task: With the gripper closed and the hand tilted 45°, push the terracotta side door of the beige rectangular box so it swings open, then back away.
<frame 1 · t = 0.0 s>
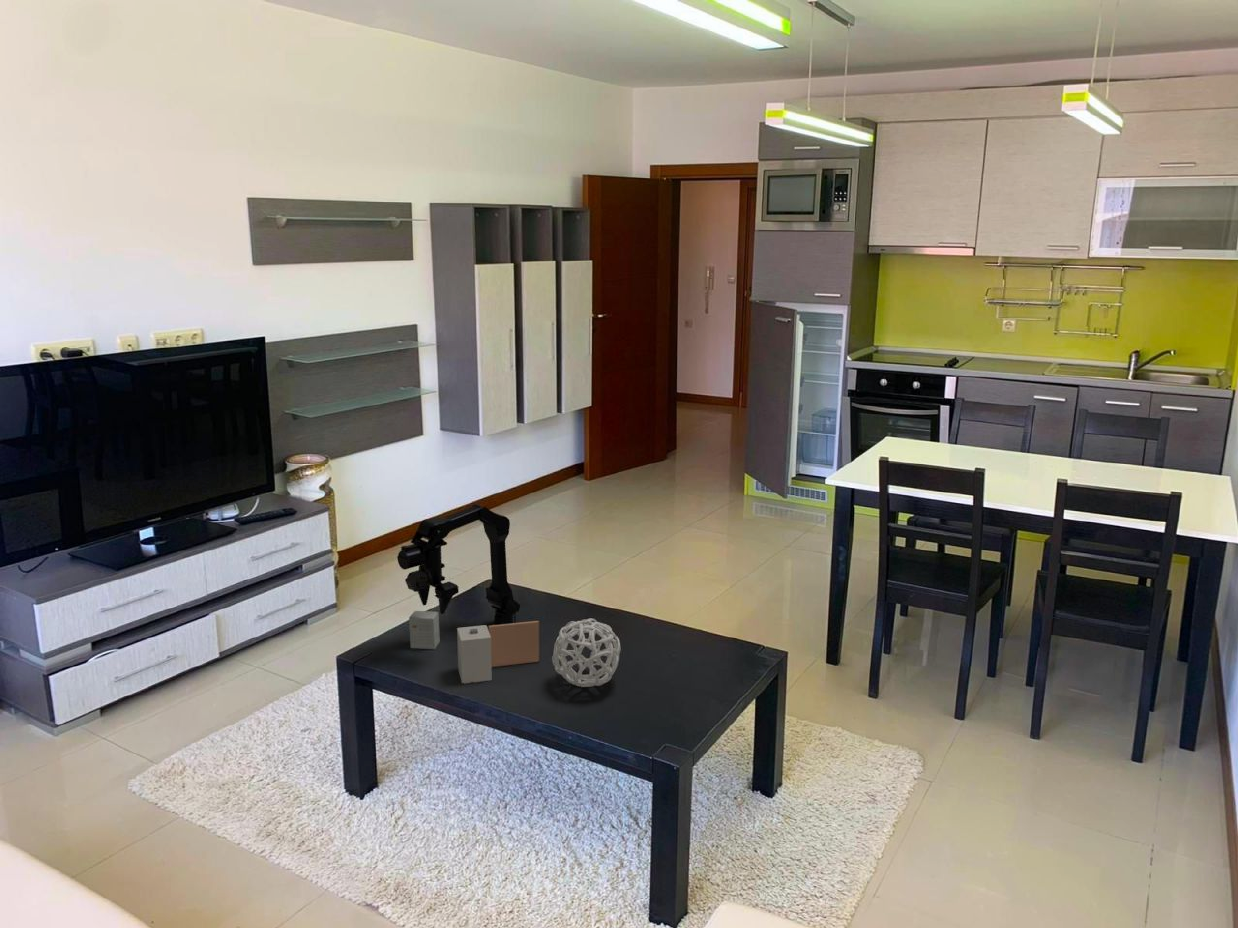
hand: (433, 609, 282), 15 cm above the table, tool pointing down, fingers open, 9 cm apart
decorative ball: (585, 684, 268), on the table
small box: (425, 645, 291), on the table
beige rectangular box: (488, 667, 276), on the table
side door: (514, 643, 278), point 7 cm above the table, hinge at 0.0°
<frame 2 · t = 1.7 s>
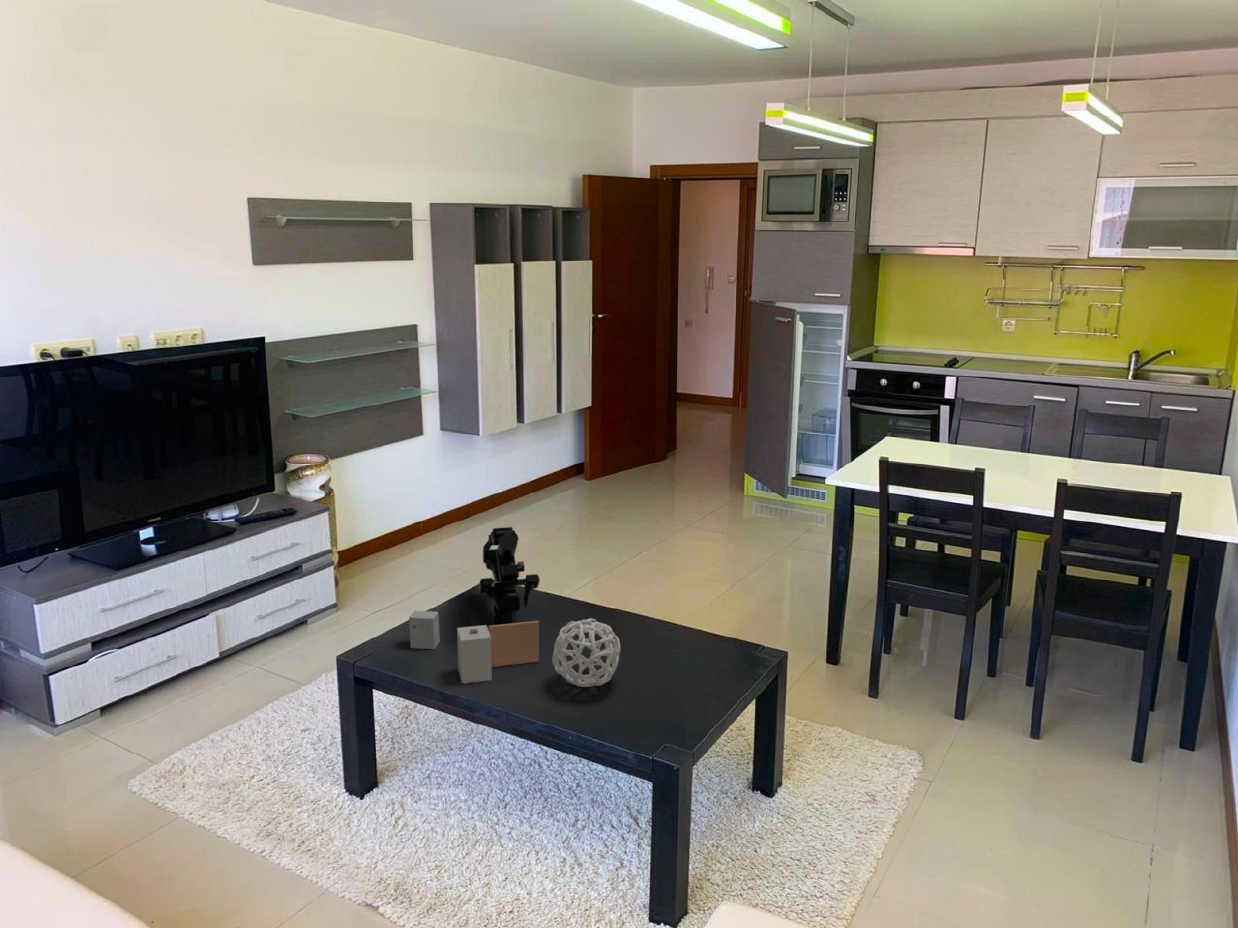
hand: (512, 608, 289), 12 cm above the table, tool tilted 45°, fingers open, 8 cm apart
nothing on the table moved.
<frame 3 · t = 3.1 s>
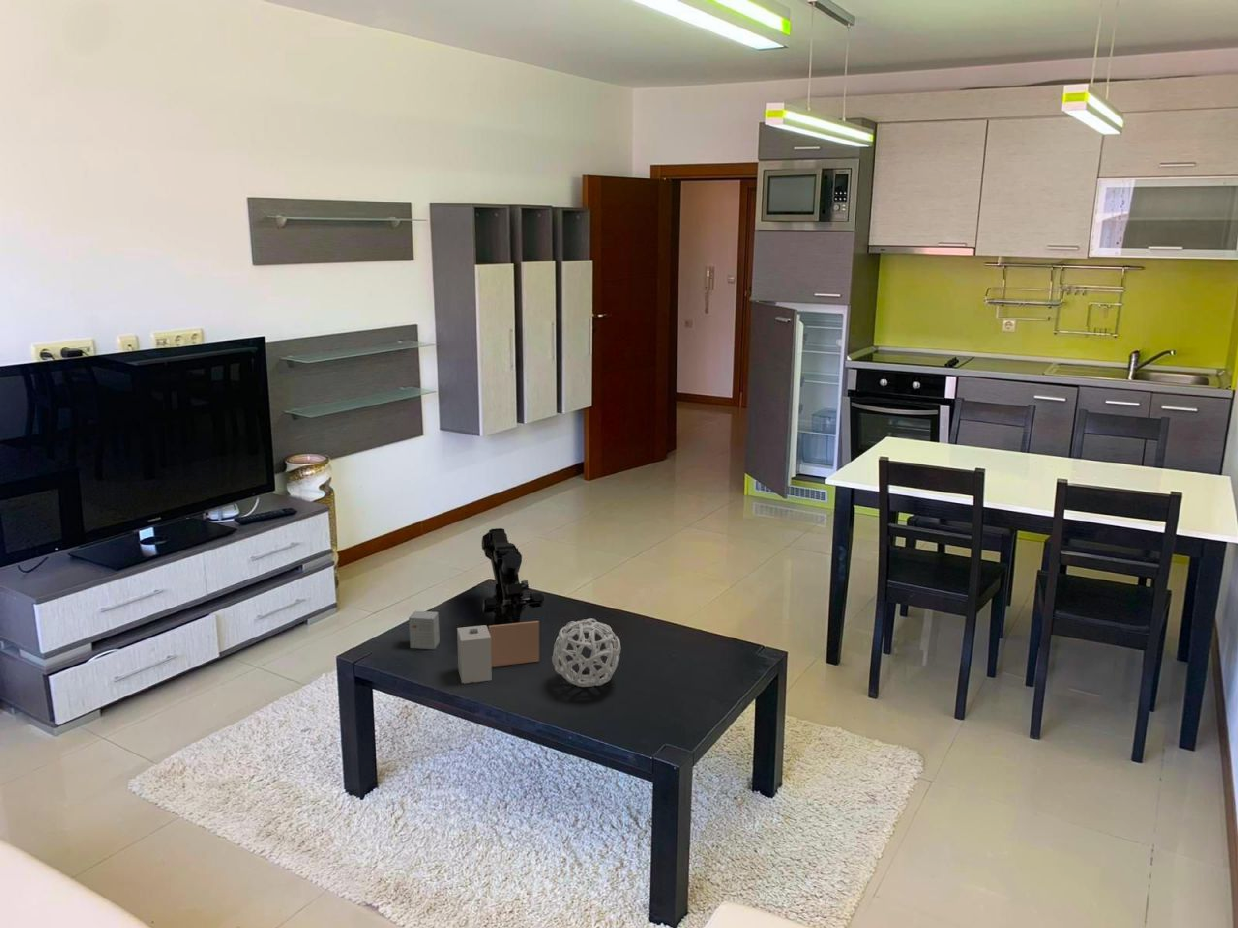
hand: (516, 628, 284), 9 cm above the table, tool tilted 45°, fingers closed
nothing on the table moved.
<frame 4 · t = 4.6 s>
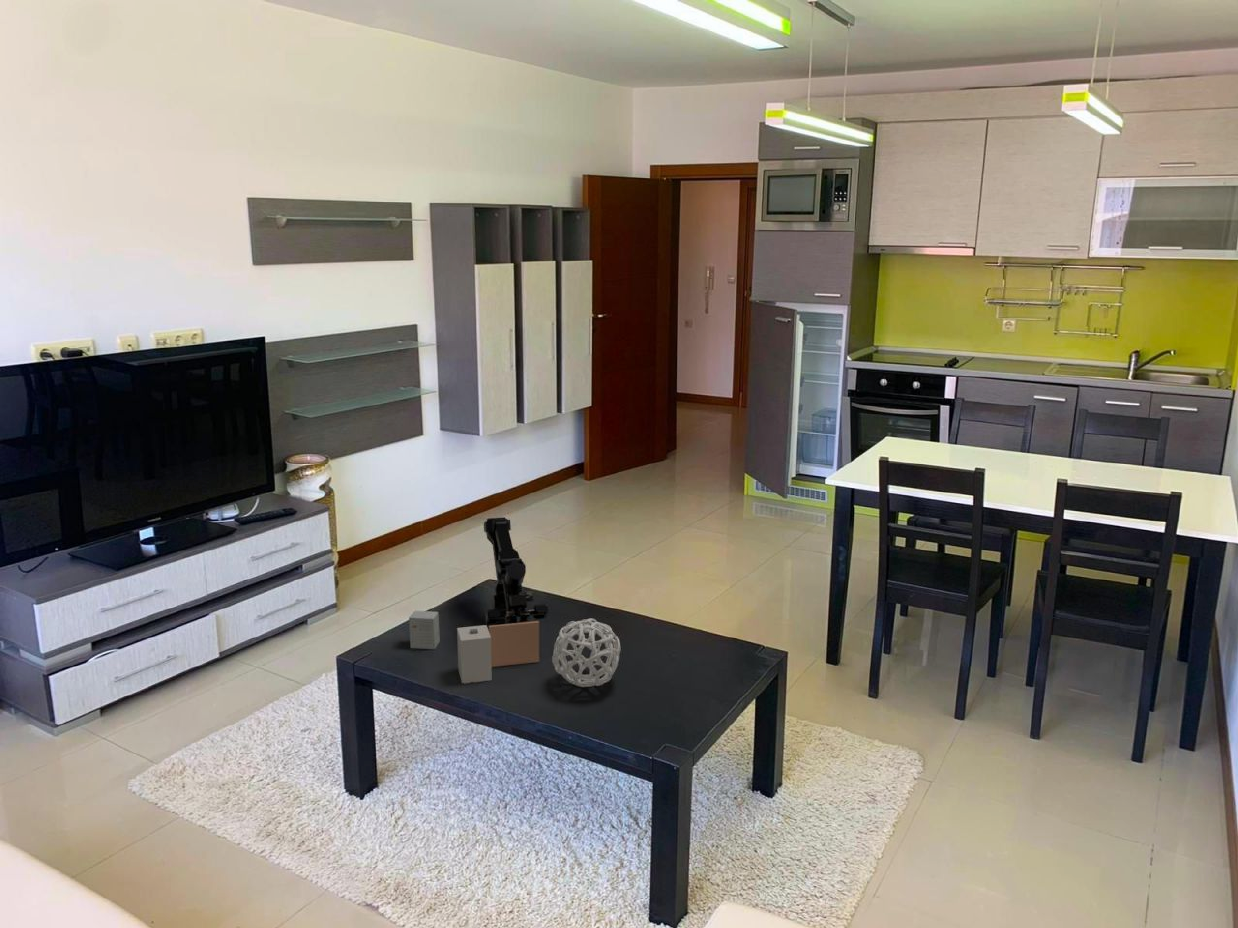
hand: (520, 640, 278), 7 cm above the table, tool tilted 45°, fingers closed, pressing on side door
side door: (514, 643, 277), point 7 cm above the table, hinge at 0.9°, touching gripper
everything else where it was.
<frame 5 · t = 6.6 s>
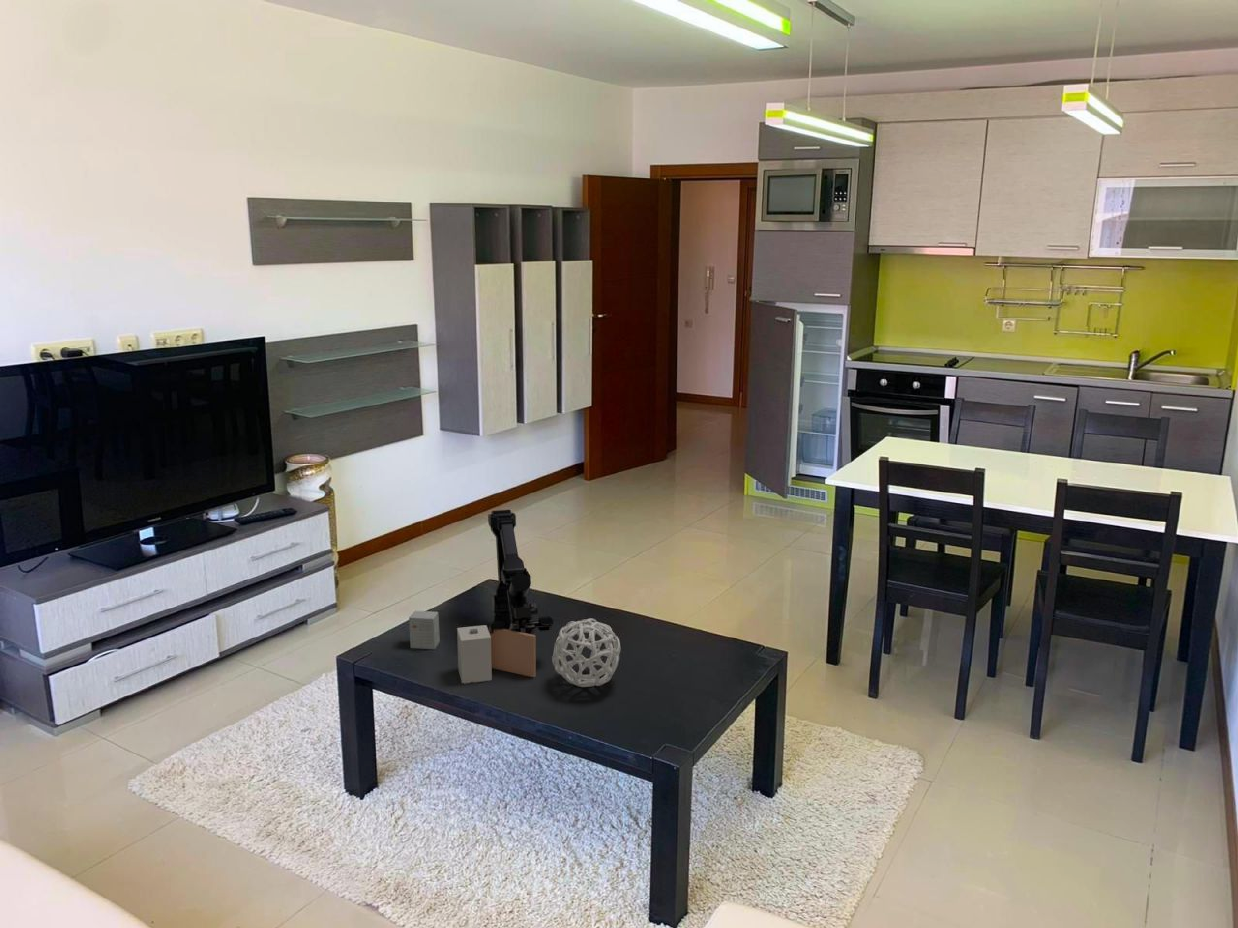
hand: (524, 653, 272), 6 cm above the table, tool tilted 45°, fingers closed
side door: (512, 651, 272), point 7 cm above the table, hinge at 39.3°, touching gripper
everything else where it was.
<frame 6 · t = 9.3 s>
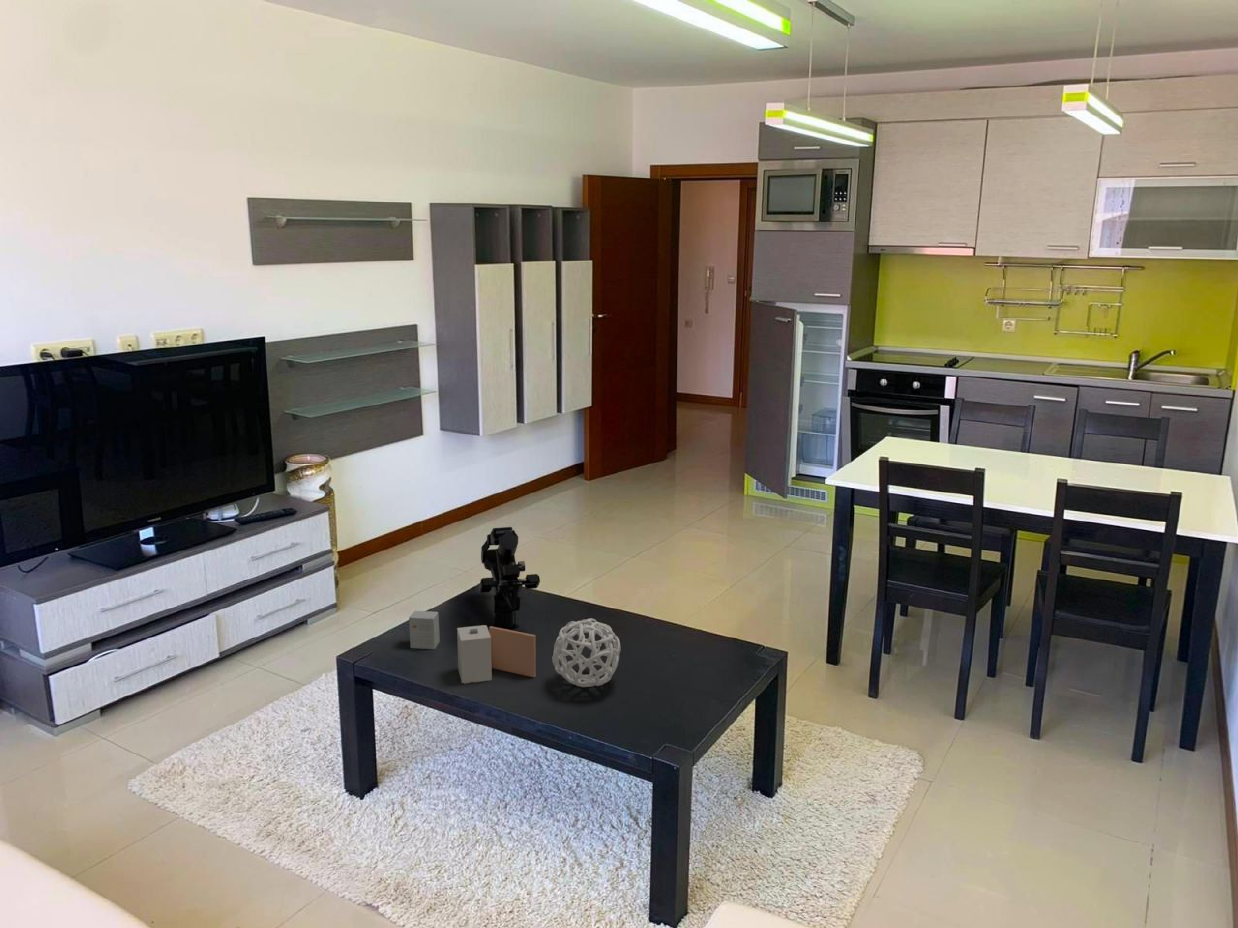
hand: (513, 608, 289), 13 cm above the table, tool tilted 45°, fingers closed
side door: (512, 651, 272), point 7 cm above the table, hinge at 39.3°
everything else where it was.
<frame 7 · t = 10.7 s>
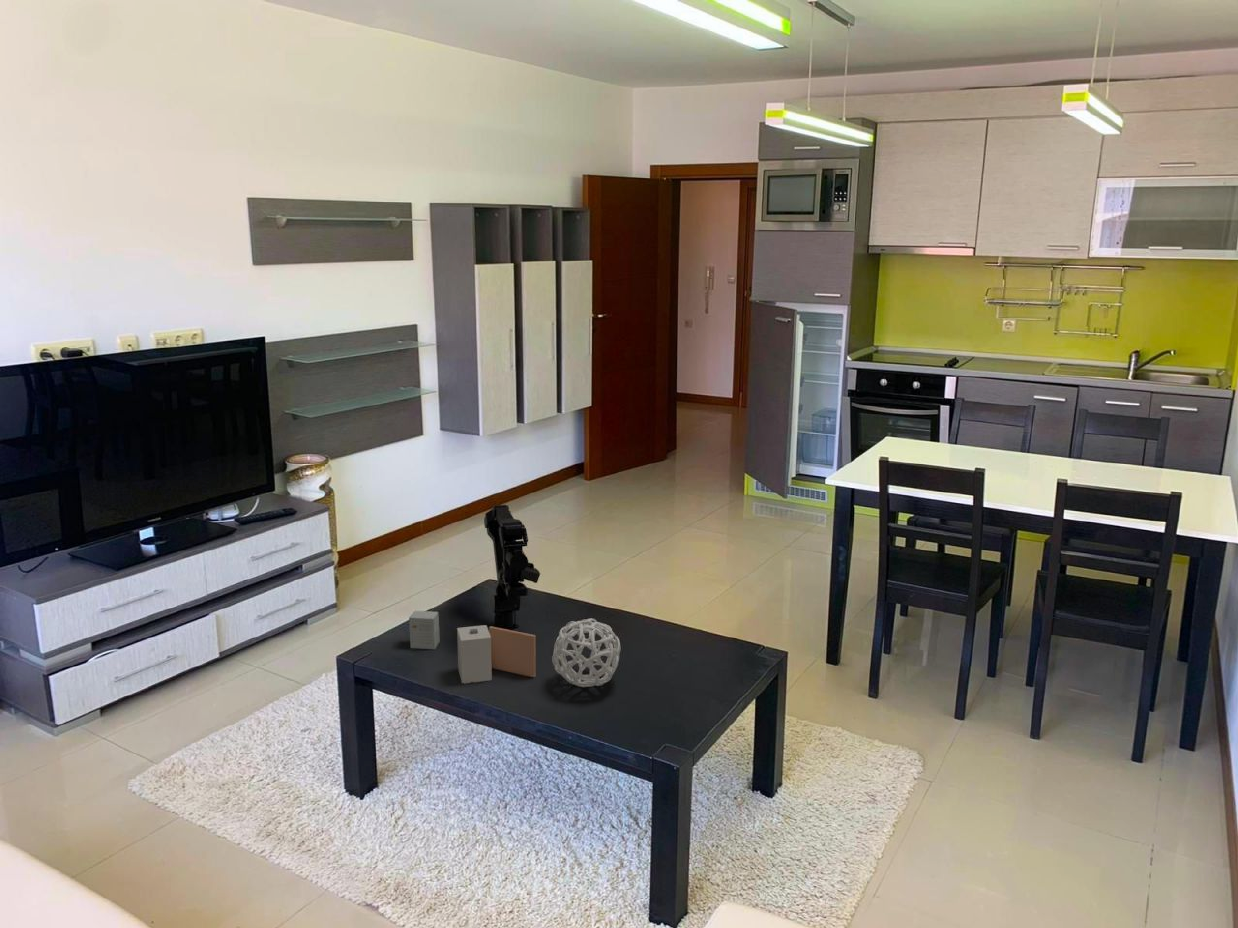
hand: (512, 607, 291), 12 cm above the table, tool pointing down, fingers closed
nothing on the table moved.
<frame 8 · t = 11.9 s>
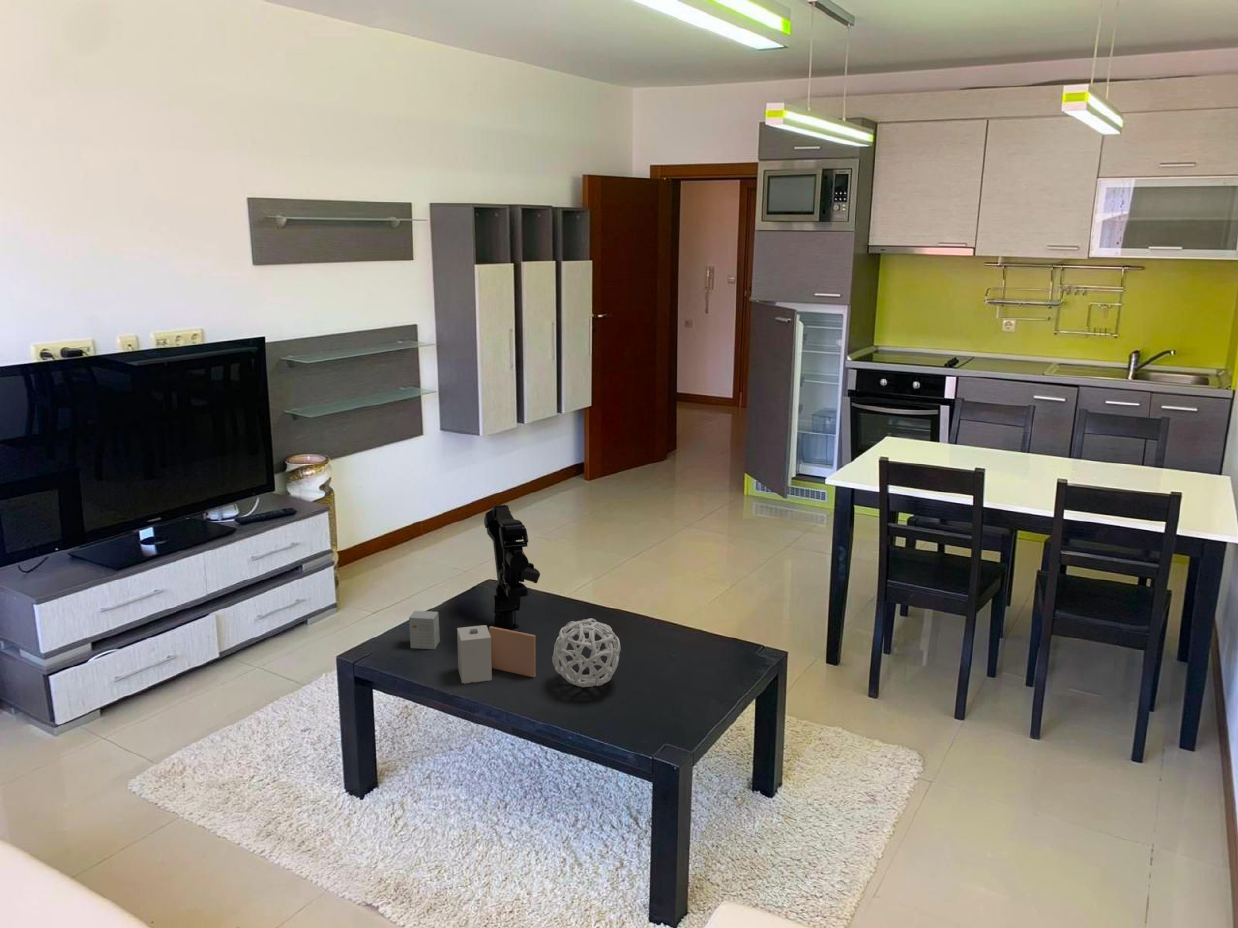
hand: (512, 607, 291), 12 cm above the table, tool pointing down, fingers closed
nothing on the table moved.
at the end: side door at +39° (first picture: +0°); small box moved 0.3 cm from its start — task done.
